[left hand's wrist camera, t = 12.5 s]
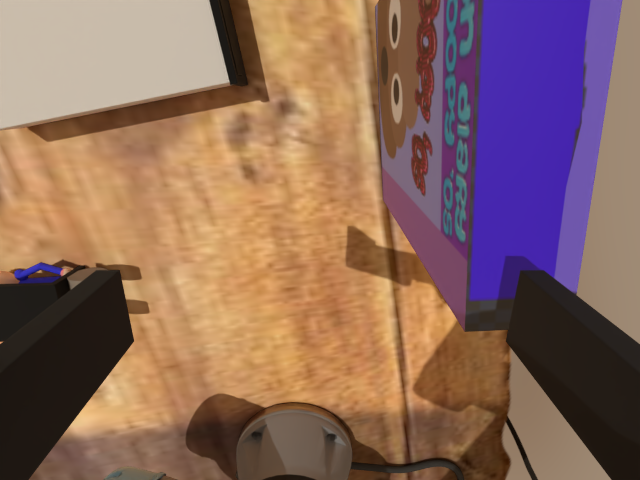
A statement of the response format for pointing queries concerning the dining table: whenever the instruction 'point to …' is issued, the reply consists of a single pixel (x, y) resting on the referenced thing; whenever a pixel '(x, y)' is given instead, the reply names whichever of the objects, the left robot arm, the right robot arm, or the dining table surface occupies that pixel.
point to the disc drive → (110, 55)
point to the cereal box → (493, 139)
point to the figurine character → (33, 294)
